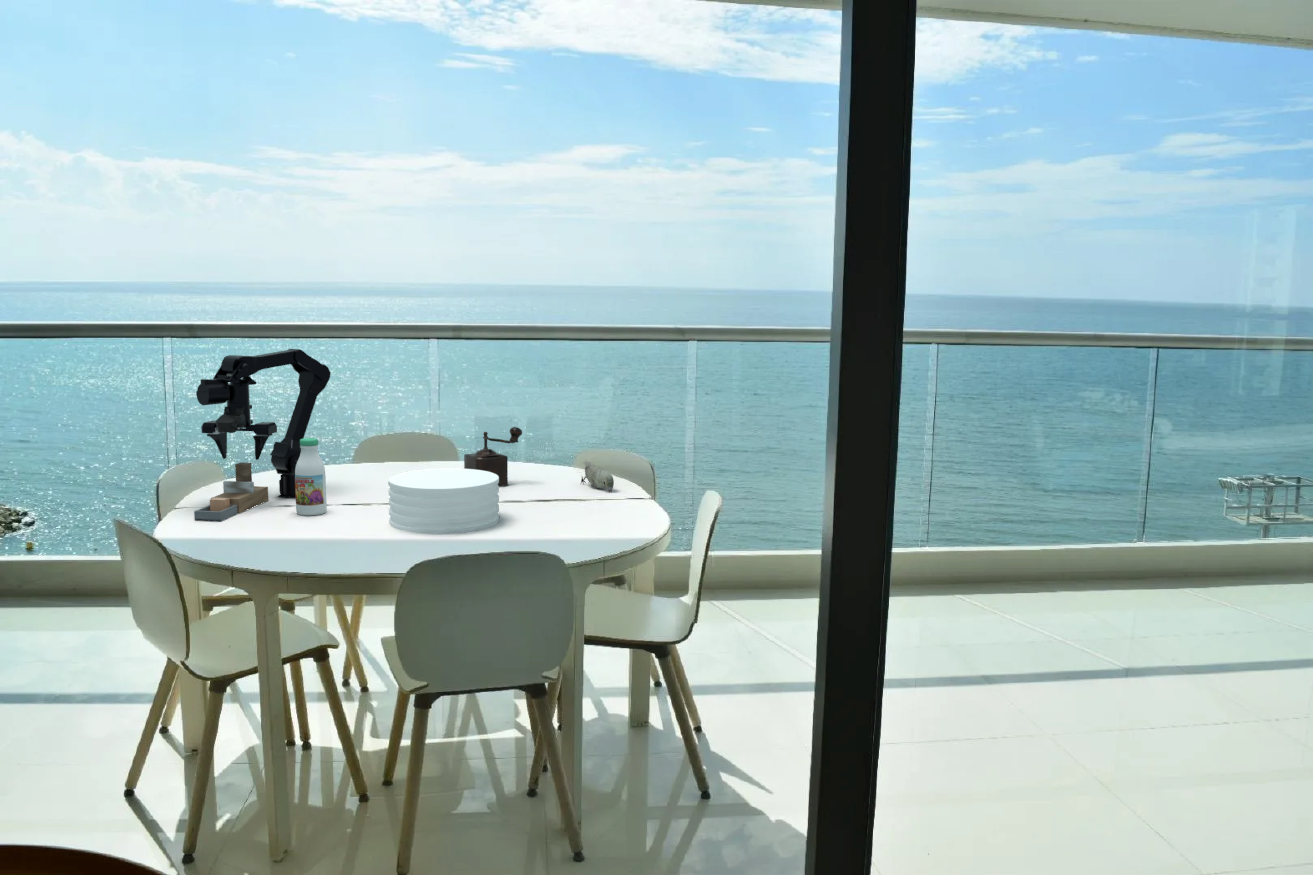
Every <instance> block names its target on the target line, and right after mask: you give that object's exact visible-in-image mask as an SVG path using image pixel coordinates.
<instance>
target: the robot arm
mask: <svg viewBox="0 0 1313 875" xmlns="http://www.w3.org/2000/svg"><path fill="white" fill-rule="evenodd" d="M289 365H290V366H291V367H292V369H293V370H294V371H295V372H296V373H297V374H298V380H297V381H298V386H299V394H298V397H297V399H296V402H295V405H294V409H293V412H292V414H291V417H290V419H289V420H290V421H289V424H288V426H287V430H286V432H285V436H284V438H283V439H282V440H281V441H280V442H279V441H275V442H274V443H273V448H272V451H271V452H270V454H269V455H270V456H271V458H270V463H271V464H272V466H273V468H274V469H275V471H276V474H278V475H280V479H279V481H278V485H279V486H278V487H279V494H278V497H279V498H293V499H294V498H295V499H296V493H295V468H296V464H297V462H298V459H299V457H300V453H301V448H300V439H303V438H304V437H305V435H306V432H307V428H308V426H309V422H310V420H311V416H312V414H313V411H314V409H315V408H314V407H315V404H316V401H317V399H318V396H319V395H320V394H321V392H323V391H324V389H326V387H327V384H328V383H329V381H330V378H331V376H332V374H331V373H332V372H331V371H330V368H329V367H328V366H327V365H326V364H322V363H321V362H320V361H318V360H317V359H315V358H313V357H312V356H310V355H308V354H307V353H306V352H305V351H304V350H302V349H300V348H288V349H285V350H280V351H275V352H269V353H263V354H257V355H238V354H234V355H232V354H229V355H225V356H223V359H222V361H221V364H220V366H219V368H218V370H217V371H216V373H215V375H214V376H213V378H212V379H211V378H210V379H209V378H202V379H200V384H198V387H197V390H196V391H195V392H196V393H195V394H196V400H197V401H198V403H199V404H200V405H201V406H212V405H213V406H214V405H220V404H222V405H223V404H226V406H224V408H223V414H221V415H220V416H219V417H218V418H217V419H216V420H209V421H205V422H203V423H202V425H201V433H202V434H206V436H207V437H209V438H211V439H212V440H213V441H214V443H215V444H216V447H217V448H218V450H219V453H220V455H221V457H222V459H223V460H224V459H225V460H226V459H227V454H228V433H229V434H233V433H236V432H253V433H254V434H255V435H253V436H252V438H253V439H254V454H255V455H254V458H255V460H256V461H258V460H260V457H261V455H262V452H263V449H264V447H265V444H266V443H267V441H268V439H269V437H271V436H273V434H275V433H277V432H278V425H277V424H276V423H275V421H261V422H256V423H255V424H253V423H254V420H253V419H251V409H253V405H252V404H251V403H250V402H251V401H250V400H251V399H250V385H251V386H253V385H257V382H256V380H254V379H252V377H251V376H252V375H255V374H256V373H258V372H259V371H262V370H267V369H271V368H278V367H282V366H289Z"/></svg>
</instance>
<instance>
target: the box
mask: <svg viewBox="0 0 1313 875" xmlns="http://www.w3.org/2000/svg"><path fill="white" fill-rule="evenodd" d="M236 514H237V515H239V514H238V513H237V505H230V507H229V508H226V509H224V510H222V511H210V504H208V505H206V506H203V507H201V508H199V509H197V510H194V511H193V515H194V522H216V523H217V522H221V523H222V522H223V521H225V520H229V519H230V518H233V517H235V516H237V515H236Z"/></svg>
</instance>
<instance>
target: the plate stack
mask: <svg viewBox="0 0 1313 875" xmlns="http://www.w3.org/2000/svg"><path fill="white" fill-rule="evenodd" d="M498 483H499V476H498V475H496V474H494V473H492V472H488V471H483V470H475V469H464V468H456V467H453V468H452V467H450V468H440V467H438V468H425V469H415V470H410V471H405V472H400V473H397V474H393V475H391V476H389V478H388V480H387V484H388V496H389V498H388V506H389V508H388V515H389V520H388V523H389V525H390V527H392V528H393V529H396V530H399V531H404V532H407V533H408V532H409V533H416V534H429V535H430V534H433V535H434V534H436V535H437V534H440V535H441V534H458V533H467V532H474V531H479V530H482V529H486V528H490V527H492V526H495V525H497V523H499V521H500V514H499V512H500V505H499V502H500V496H499V493H500V487H499V486H498V485H497V484H498Z"/></svg>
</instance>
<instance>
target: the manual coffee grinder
mask: <svg viewBox="0 0 1313 875" xmlns="http://www.w3.org/2000/svg"><path fill="white" fill-rule="evenodd" d="M482 434H483V436H482V438H483V444H484V445H483V446H484V447H483V448H482V449H481V448H480V450H477V451H476V452H474V453H465V454H464V458H463V460H464V461H463V462H464V465H463V469H475V470H483V471H488V472H492V473H494V474H496V475H498V476H499V483H498V484H497V485H498V486H499V488H500V487H506V486H509V481H508V480H509V478H508V474H509V473H508V467H509V466H508V464H509V462H508V459H509V458H508V456H507V455H505V454H502V453H498V452H496V451H495V450H493V449H492V448H489V447H488V441H491V442H499V443H505V444H515V443H519V438H520V437H521V436H522V434H523V430H522V429H521V428H520V427H516V426H513V427H510V429H509V434H510V438H509V440H508V439H503V438H502V439H501V438H491V437H488V431H484V432H483V433H482Z"/></svg>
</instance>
